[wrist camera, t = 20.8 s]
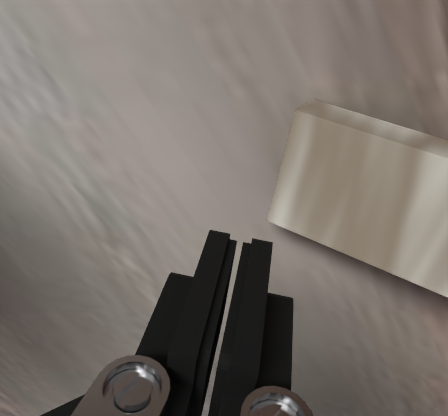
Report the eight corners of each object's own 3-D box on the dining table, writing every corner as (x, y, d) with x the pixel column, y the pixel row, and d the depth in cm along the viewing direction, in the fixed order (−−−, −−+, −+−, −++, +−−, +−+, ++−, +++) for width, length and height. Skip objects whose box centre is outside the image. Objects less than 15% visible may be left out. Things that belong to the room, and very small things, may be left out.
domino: (266, 220, 18) (521, 328, 15) (295, 109, 15) (614, 211, 12) (283, 202, 20) (517, 296, 16) (312, 98, 17) (598, 186, 14)
